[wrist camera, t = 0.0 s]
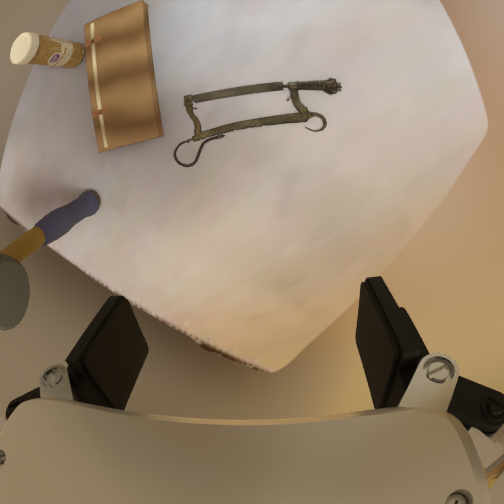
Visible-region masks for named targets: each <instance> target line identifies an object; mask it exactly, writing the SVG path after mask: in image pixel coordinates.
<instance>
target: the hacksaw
mask: <svg viewBox="0 0 504 504" xmlns="http://www.w3.org/2000/svg"><path fill="white" fill-rule="evenodd" d="M288 84H289V85H283V83H282V82H276V83H275V82H274V83H266V84H258V85H250V86H244V87H243V86H242V87H236V88H230V89H224V90H218V91H212V92H207V93H203V94H202V93H201V94H197V95H193V96H192V95H187V96H184V106H186V111H187V112H188V114H189V116H190V117H191V119H192V120H193V122H194V125H195V130H194V132H195V135H194V136H192V138H191V139H188V140H187V141H183V142H181V143H180V144H179V145H178V146H177V147H176V149H175V151H174V158H175V160H176V162H177V163H178V164H179V165H181V166H184V167H190V166H193V165H195V163H196V162H197V160H198V158H199V155H200V152H201V150H202V148H203V146H204V144H205V143H206V142H208V141H211V140H214V139H220V138H222V137H224V136H225V135H218V134H222V133H227V132H230V131H234V130H239V129H246V128H249V127H251V128H253V127H258V126H259V127H261V126H263V125H267V126H268V125H276V124H285V123H298V122H307V121H308V119H309V118H311V117H314V116H317V117H321V118H322V119H323V121H324V123H325V125H324V127H323V129H321V130H318V131H314V130H311V129H309V128H307V127H306V128H307V129H309V130H311V131H314V132H319V131H322V130H324V128H325V127H326V125H327V122H326V119H325V117H324V116H323V115H321V114H319V113H313V112H312V113H310V112H309V111H308V108H307V107H305V106H304V105H303V104H302V103H301V102H300V99H299V94H298V90H323V91H325V92H327V93H329V94H331V95H332V94H333V93H334V94H336V93H337V90H338V91H341V88H342V87H341V86H340V85H341V83H340V82H339V83H338V84H337V82H336V79H333V78H331V79H330V80H324V81H310V82H289V83H288ZM284 87H285V88H289V90H291V94H292V95H291V96H292V99H293V103H294V105H295V106H296V108H297V110H298V111H299V112H300V113H295V114H286V115H279V116H272V117H265V118H259V119H253V120H246V121H241V122H236V123H232V124H227V125H223V126H220V127H217V128H213V129H210V130H207V131H204V132H202V131H201V124H200V122H199V120H198V118H197V117H196V116H195V115H194V113H193V109H197V108H194V107H192V105H193V104H192V101H194V102H195V103H199V102H204V101H209V100H214V99H220V98H226V97H232V96H238V95H245V94H253V93H261V92H269V91H279V90H283V88H284ZM291 96H290V98H291ZM290 98H289V99H290ZM289 99H287V101H288V100H289ZM192 108H193V109H192ZM214 135H218V136H215V137H212V138H209V139H207V140H205V141H204V142H203V143H202V144H201V146H200V149H199V151H198V154H197V156H196V159H195V161H194V162H193V163H191V164H189V165H186V164H183V163H181V162H179V161H178V159H177V157H176V151H177V149H178V148H179V146H181V144H184V143H185V142H187V143H189V142H190V141H191V140H193V141H194V142H195V141H199V140H200V139H201V140H202V139H204V138H206V137H210V136H214Z"/></svg>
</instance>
